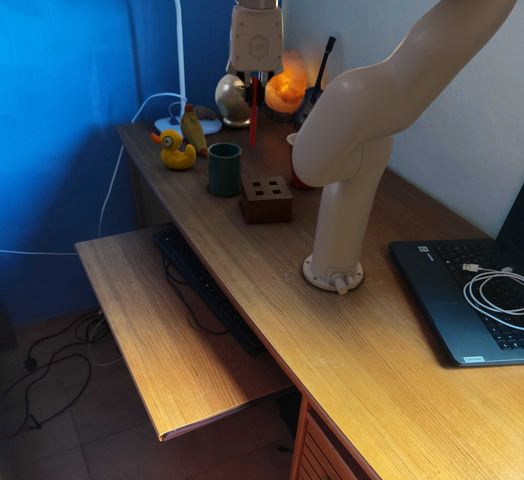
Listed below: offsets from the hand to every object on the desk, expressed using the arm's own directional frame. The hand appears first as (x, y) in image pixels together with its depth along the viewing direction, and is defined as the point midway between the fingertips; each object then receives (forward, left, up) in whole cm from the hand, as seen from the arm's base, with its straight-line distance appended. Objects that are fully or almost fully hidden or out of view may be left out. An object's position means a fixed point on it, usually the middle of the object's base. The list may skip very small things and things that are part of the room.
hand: (254, 104), depth 98 cm
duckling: (+21, +16, -23) cm, 36 cm away
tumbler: (+9, +5, -23) cm, 25 cm away
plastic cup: (+9, -16, -23) cm, 30 cm away
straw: (0, 0, -9) cm, 9 cm away
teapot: (+51, -5, -23) cm, 56 cm away
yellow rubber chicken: (+35, +10, -23) cm, 43 cm away
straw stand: (-3, -3, -23) cm, 24 cm away
